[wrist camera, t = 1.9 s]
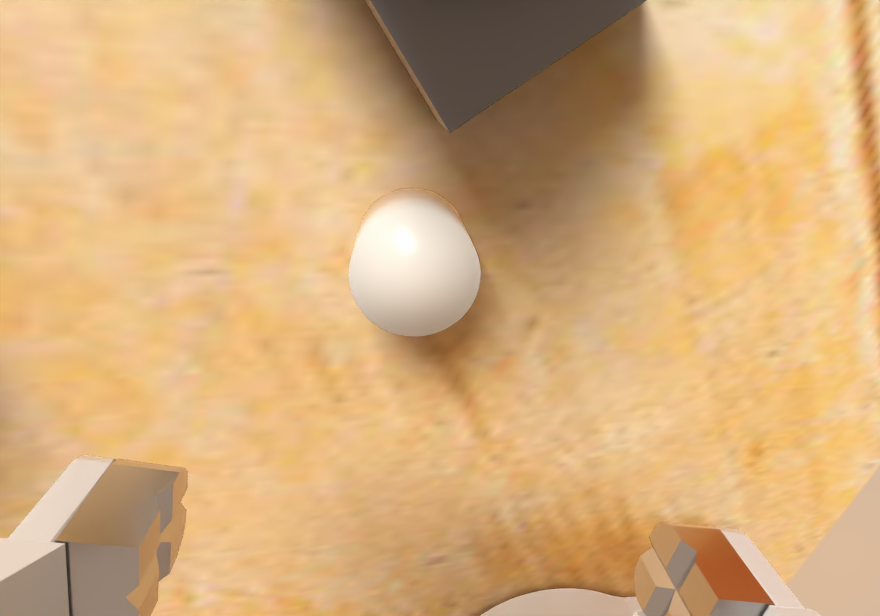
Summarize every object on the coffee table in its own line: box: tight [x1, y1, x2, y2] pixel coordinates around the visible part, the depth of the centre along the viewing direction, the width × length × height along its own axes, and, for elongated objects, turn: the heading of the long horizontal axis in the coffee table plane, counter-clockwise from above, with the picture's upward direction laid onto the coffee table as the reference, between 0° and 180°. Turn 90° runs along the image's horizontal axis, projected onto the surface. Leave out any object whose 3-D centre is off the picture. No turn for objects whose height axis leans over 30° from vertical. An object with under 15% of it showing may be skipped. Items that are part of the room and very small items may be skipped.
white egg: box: [349, 188, 481, 337], centre depth 23 cm, size 5×5×5 cm
